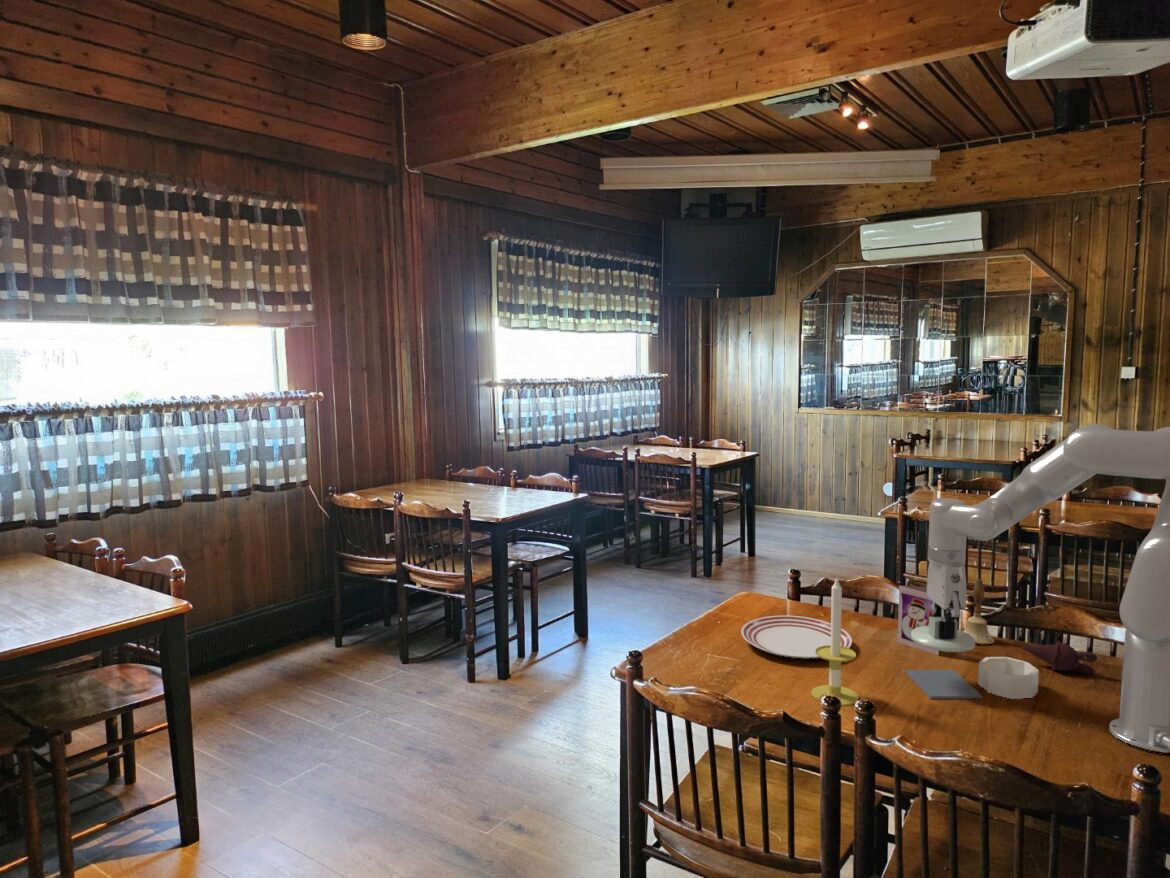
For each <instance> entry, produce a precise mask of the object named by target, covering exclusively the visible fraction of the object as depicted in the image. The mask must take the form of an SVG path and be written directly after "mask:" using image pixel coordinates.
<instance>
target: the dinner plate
mask: <svg viewBox="0 0 1170 878" xmlns="http://www.w3.org/2000/svg"><path fill="white" fill-rule="evenodd" d="M740 632H741V636H742V637H743V638H744V640H745V641H746V642H747V643H749V644H750V645H752V646H753V647H755V648H757V649H759V650H761V651H764V652H765V653H768V654H771V655H772V654H773V655H775V656H778V655H779V656H778V657H782V656H784V658H788V657H791V658H790V659H796V658H801V659H800V660H806V659H807V660H809V659H810V658H812V659H821V658H820V657H818V656H817V655H816V649H817V648H818V647H821V646H828V645H831V622H828V621H824V620H822V619H818V618H817V619H816V618H812V617H806V616H801V615H799V616H798V615H785V614H784V615H783V614H782V615H770V616H768V615H767V616H762V617H759V618H755V619H752V620H750V621H748V622H747V623H745V624H744V625H743V626H742V627H741V629H740ZM852 645H853V639H852V637H851V635H850V633H848V632H847V631H846V630H845V629H843V628H842V627H841V646H842V647H846V648H849V649H851V647H852Z"/></svg>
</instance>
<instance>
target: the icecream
mask: <svg viewBox="0 0 1170 878" xmlns="http://www.w3.org/2000/svg"><path fill="white" fill-rule="evenodd" d="M1021 649H1023V650H1024V651H1026V652H1028V653H1030V654H1032V655H1033V656H1035V657H1037V658H1039V659H1040V660H1041V661H1042V660H1043V662H1045V663H1047V664H1049V665H1051V666H1052V672H1054V671H1055V670H1057V671H1062V672H1067V671H1072V670H1074V669H1075V670H1077V672H1080V673H1082V674H1084V673H1085V675H1088V674H1090V675H1089V676H1092V675H1094V674H1095V669H1094V668H1093V667H1092V666H1090V665H1088V664H1085V663H1094V662H1096V661H1097V660H1098V656H1097V655H1096V654H1095V653H1094V652H1090V651H1084V652H1083V651H1081V652H1077V651H1076V649H1075V648H1073V647H1072V646H1070V645H1069V644H1067V643H1065V642H1060V640H1058V641H1057V643H1055V644H1037V645H1034V644H1033V645H1022V646H1021ZM1080 661H1083V662H1085V663H1081V662H1080Z"/></svg>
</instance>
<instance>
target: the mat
mask: <svg viewBox="0 0 1170 878" xmlns="http://www.w3.org/2000/svg"><path fill="white" fill-rule="evenodd" d="M904 672H905V674H906V673H907V674H908V675H907V674H906V675H907V676H908V677H909V678H910V679H911V680H912V681H913V682H914V683H915V685H917V686H918V688H919V689H921V691H922V692H923V693H924V694H926V696H927V697H928V698H929V699H930V700H950V699H951V700H953V699H954V700H957V699H959V700H961V699H962V700H963V699H965V700H966V699H969V700H970V699H972V698H976V699H983V695H982V694H981V692H979V691H977V690H976V689H975V688H974V687H973V686H972V685H971V684H969V683H968V682H967V681H966V680H965V679H964V678H963V677H962V676H961V675H960V674H959V673H957V671H955V669H905V671H904Z"/></svg>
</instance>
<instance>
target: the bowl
mask: <svg viewBox="0 0 1170 878" xmlns="http://www.w3.org/2000/svg"><path fill="white" fill-rule="evenodd" d="M1039 671H1040V670H1039V669H1038V668H1037V667H1035V666H1034V665H1032V664H1031V663H1029V662H1028V661H1024V660H1020V659H1017V658H1013V657H1008V656H986V657H984V658H983V659H982V660H980V661H979V662H978V677H977V681H978V682H977V685H978V684H979V686H980V687H981V688H982V687H983V688H984V689H985V690H986V691H987V692H986V691H985V690H984V689H983V688H982V689H983V690H984V691H985V692H986V693H988V694H991V693H992V694H991V695H994V694H995V696H999V697H1001V696H1002V698H1005V697H1006V698H1005V699H1008V698H1009V700H1024V699H1023V698H1031V699H1033V698H1034V696H1036V694H1038V691H1039V675H1040V674H1039V673H1040V672H1039Z"/></svg>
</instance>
